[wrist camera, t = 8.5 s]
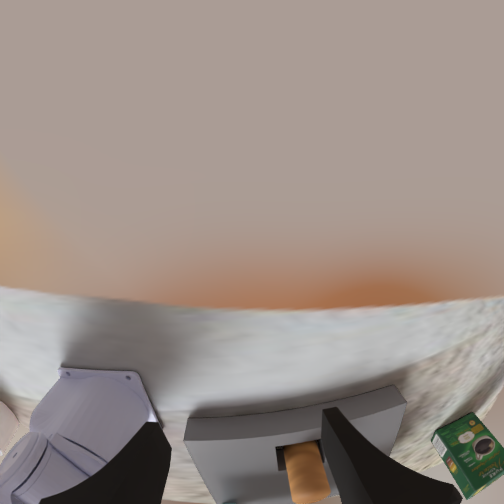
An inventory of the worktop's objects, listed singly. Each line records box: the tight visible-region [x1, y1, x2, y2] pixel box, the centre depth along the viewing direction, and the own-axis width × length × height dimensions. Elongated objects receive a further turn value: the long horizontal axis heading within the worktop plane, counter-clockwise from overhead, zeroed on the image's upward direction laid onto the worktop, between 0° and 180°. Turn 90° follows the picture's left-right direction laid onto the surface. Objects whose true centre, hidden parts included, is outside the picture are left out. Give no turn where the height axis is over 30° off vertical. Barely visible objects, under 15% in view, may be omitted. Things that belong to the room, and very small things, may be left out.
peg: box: [283, 440, 331, 504], centre depth 19 cm, size 3×3×8 cm
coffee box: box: [431, 412, 504, 500], centre depth 19 cm, size 8×3×13 cm, turn 95°
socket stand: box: [183, 385, 407, 504], centre depth 20 cm, size 20×16×8 cm
